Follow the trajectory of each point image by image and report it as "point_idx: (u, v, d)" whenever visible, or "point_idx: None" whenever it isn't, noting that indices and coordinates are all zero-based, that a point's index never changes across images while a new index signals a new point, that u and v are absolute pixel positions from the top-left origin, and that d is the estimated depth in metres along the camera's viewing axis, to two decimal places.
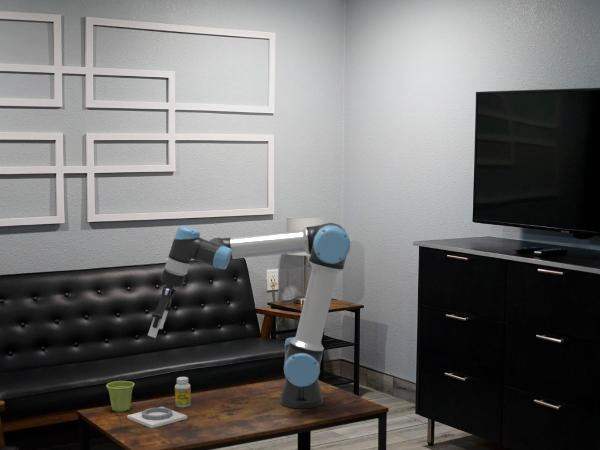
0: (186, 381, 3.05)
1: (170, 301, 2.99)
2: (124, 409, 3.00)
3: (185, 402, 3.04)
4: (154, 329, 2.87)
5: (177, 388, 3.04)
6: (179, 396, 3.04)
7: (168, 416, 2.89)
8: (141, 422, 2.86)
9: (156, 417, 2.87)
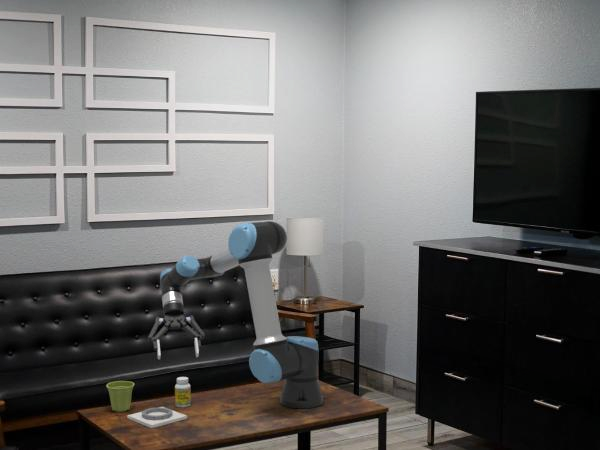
0: (186, 382, 3.05)
1: (191, 329, 3.22)
2: (124, 409, 3.00)
3: (185, 402, 3.04)
4: (157, 350, 3.15)
5: (177, 388, 3.04)
6: (179, 396, 3.04)
7: (168, 416, 2.89)
8: (141, 422, 2.86)
9: (156, 417, 2.87)
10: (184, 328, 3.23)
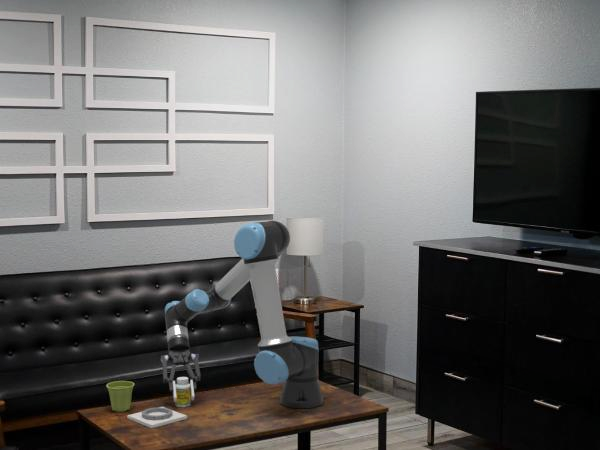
0: (186, 381, 3.05)
1: (190, 368, 3.10)
2: (124, 409, 3.00)
3: (185, 402, 3.04)
4: (173, 392, 3.04)
5: (177, 388, 3.04)
6: (179, 396, 3.04)
7: (168, 416, 2.89)
8: (141, 422, 2.86)
9: (156, 417, 2.87)
10: (185, 365, 3.12)
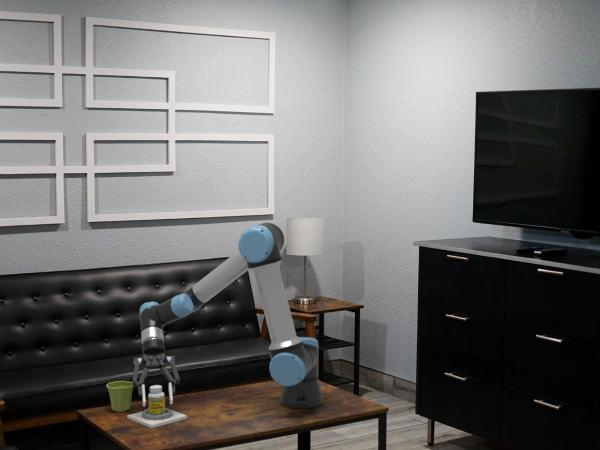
0: (160, 390, 2.90)
1: (167, 371, 2.95)
2: (124, 409, 3.00)
3: (159, 412, 2.90)
4: (142, 397, 2.89)
5: (150, 397, 2.90)
6: (153, 405, 2.89)
7: (168, 416, 2.89)
8: (141, 422, 2.86)
9: (156, 417, 2.87)
10: (161, 369, 2.97)
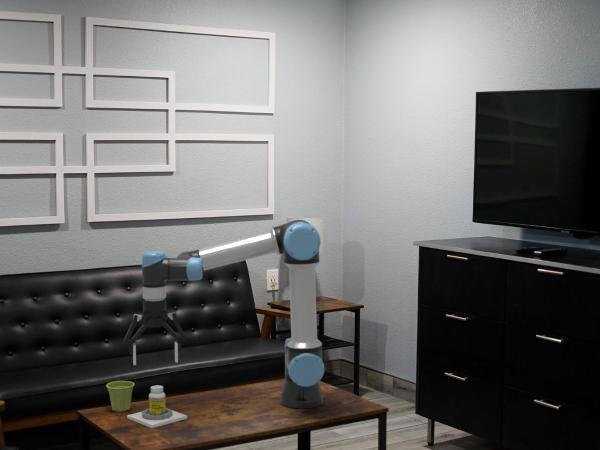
0: (161, 390, 2.90)
1: (172, 332, 2.91)
2: (124, 409, 3.00)
3: (160, 412, 2.90)
4: (133, 356, 2.90)
5: (151, 397, 2.90)
6: (153, 405, 2.89)
7: (168, 416, 2.89)
8: (141, 422, 2.86)
9: (156, 417, 2.87)
10: (165, 327, 2.91)
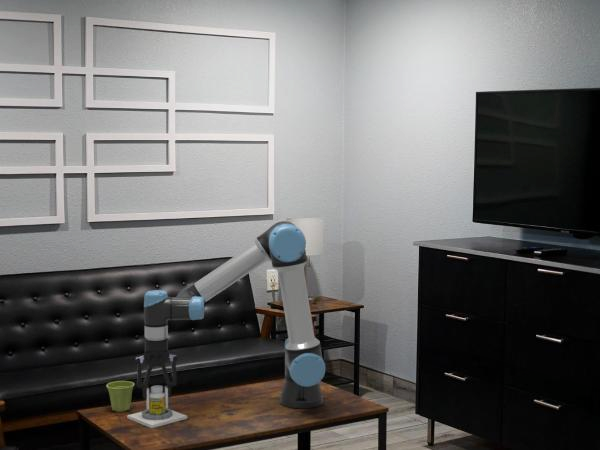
0: (161, 390, 2.90)
1: (166, 375, 2.91)
2: (124, 409, 3.00)
3: (159, 412, 2.90)
4: (146, 400, 2.91)
5: (151, 397, 2.89)
6: (153, 405, 2.89)
7: (168, 416, 2.89)
8: (141, 422, 2.86)
9: (156, 417, 2.87)
10: None
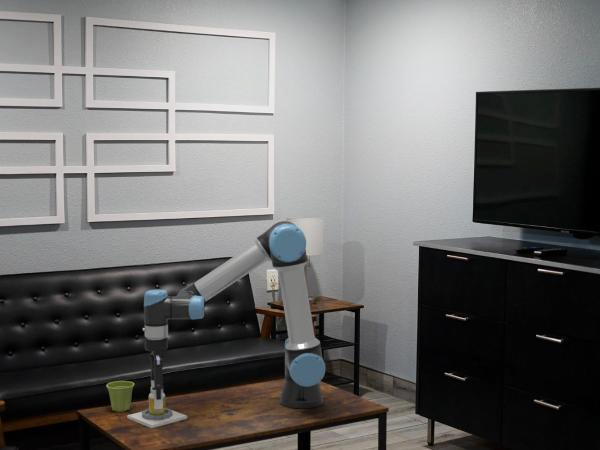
0: None
1: None
2: (124, 409, 3.00)
3: None
4: (159, 401, 2.86)
5: None
6: (164, 404, 2.91)
7: (168, 416, 2.89)
8: (141, 422, 2.86)
9: (156, 417, 2.87)
10: None
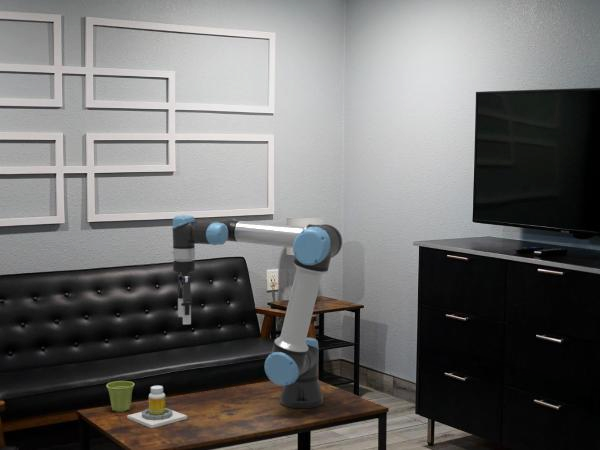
0: None
1: None
2: (124, 409, 3.00)
3: None
4: (187, 316, 3.03)
5: (162, 397, 2.90)
6: (164, 404, 2.91)
7: (168, 416, 2.89)
8: (141, 422, 2.86)
9: (156, 417, 2.87)
10: None
